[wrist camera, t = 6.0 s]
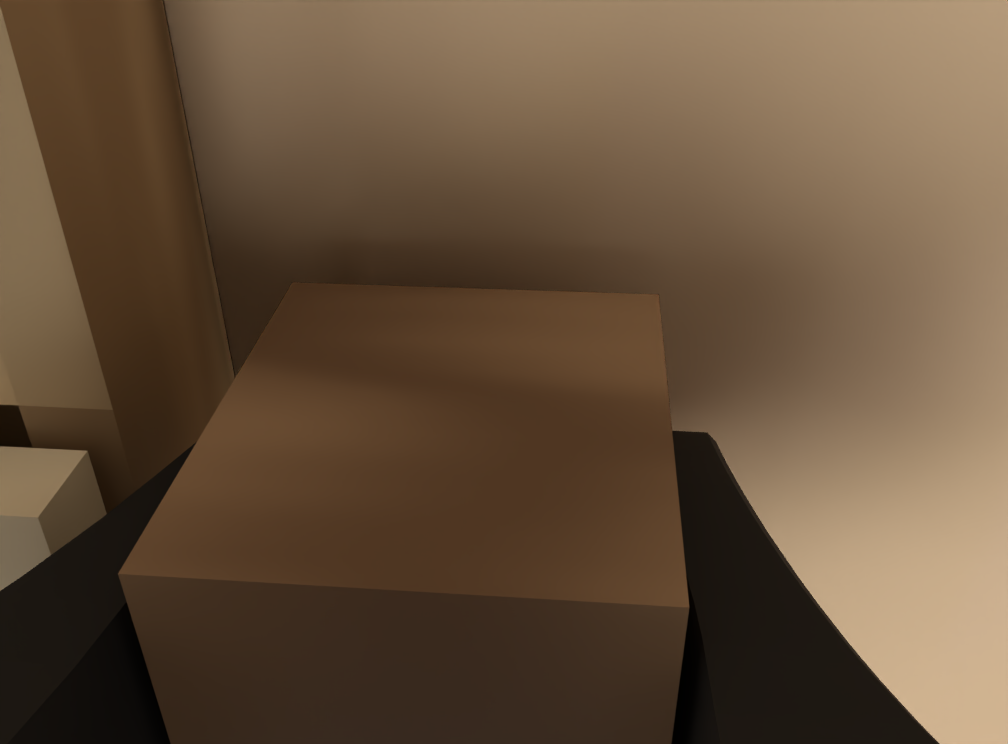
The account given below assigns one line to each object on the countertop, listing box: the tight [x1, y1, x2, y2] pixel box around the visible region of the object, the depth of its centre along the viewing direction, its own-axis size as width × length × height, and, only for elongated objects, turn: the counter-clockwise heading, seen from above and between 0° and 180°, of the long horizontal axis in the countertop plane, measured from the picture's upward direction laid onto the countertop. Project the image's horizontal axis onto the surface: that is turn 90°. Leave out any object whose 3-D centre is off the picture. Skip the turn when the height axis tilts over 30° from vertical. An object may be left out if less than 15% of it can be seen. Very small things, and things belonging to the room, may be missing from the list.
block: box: [118, 282, 689, 744], centre depth 10 cm, size 4×4×4 cm
